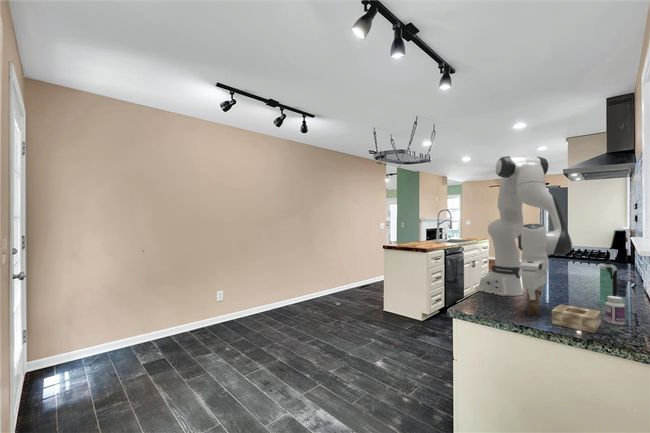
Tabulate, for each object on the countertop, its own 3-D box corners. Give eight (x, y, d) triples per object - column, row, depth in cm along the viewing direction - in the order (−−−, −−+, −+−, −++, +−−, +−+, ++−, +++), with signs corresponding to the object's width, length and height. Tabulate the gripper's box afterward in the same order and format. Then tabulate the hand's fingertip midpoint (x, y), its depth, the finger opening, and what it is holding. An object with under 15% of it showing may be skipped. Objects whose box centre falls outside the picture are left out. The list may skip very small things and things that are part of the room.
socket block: (551, 323, 112) (551, 310, 112) (560, 316, 119) (560, 304, 119) (594, 333, 103) (594, 318, 103) (600, 324, 110) (600, 311, 110)
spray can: (620, 308, 129) (620, 262, 129) (606, 307, 130) (605, 261, 130) (611, 304, 135) (610, 260, 135) (597, 303, 136) (596, 260, 136)
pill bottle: (625, 322, 112) (625, 297, 112) (624, 326, 108) (624, 299, 108) (605, 319, 116) (605, 294, 116) (604, 322, 112) (604, 297, 112)
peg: (525, 314, 123) (525, 290, 123) (529, 312, 125) (528, 288, 125) (537, 316, 120) (537, 291, 120) (540, 314, 122) (540, 290, 122)
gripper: (533, 260, 131) (534, 291, 131) (517, 265, 118) (519, 300, 118) (550, 261, 126) (552, 294, 126) (536, 267, 113) (538, 303, 113)
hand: (536, 297), depth 122 cm, fingers open, 8 cm apart
